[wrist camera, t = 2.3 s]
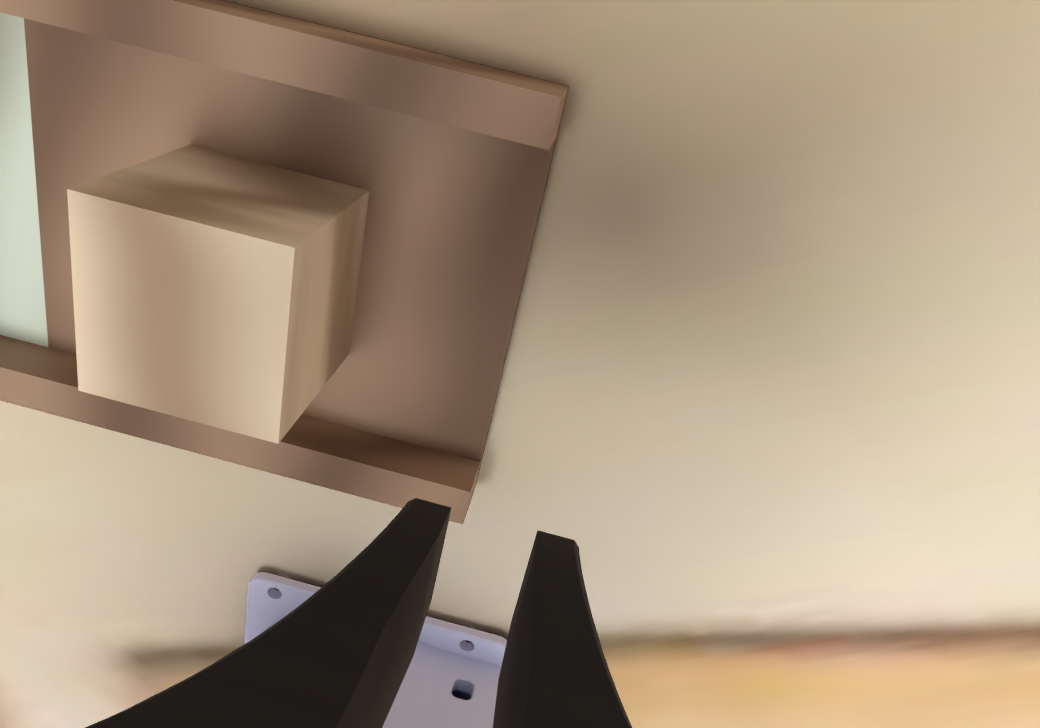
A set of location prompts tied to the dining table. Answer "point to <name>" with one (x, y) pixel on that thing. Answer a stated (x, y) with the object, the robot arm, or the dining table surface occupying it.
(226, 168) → the maple block
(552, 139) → the walled channel
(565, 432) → the dining table surface
